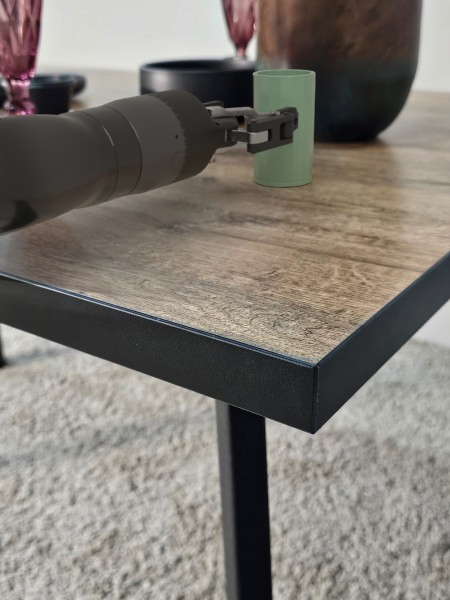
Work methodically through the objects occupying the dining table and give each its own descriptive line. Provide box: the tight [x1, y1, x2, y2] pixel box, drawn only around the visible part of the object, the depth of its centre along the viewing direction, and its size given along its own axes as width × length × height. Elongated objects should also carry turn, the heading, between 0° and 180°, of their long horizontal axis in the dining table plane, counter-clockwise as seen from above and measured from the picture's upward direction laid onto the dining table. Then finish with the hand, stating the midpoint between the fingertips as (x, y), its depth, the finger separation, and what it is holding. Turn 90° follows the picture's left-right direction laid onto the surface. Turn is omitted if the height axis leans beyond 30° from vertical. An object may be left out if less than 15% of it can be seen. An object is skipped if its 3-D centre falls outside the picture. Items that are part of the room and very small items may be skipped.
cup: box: [252, 68, 316, 188], centre depth 77 cm, size 6×6×11 cm
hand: (256, 114), depth 72 cm, fingers open, 8 cm apart
